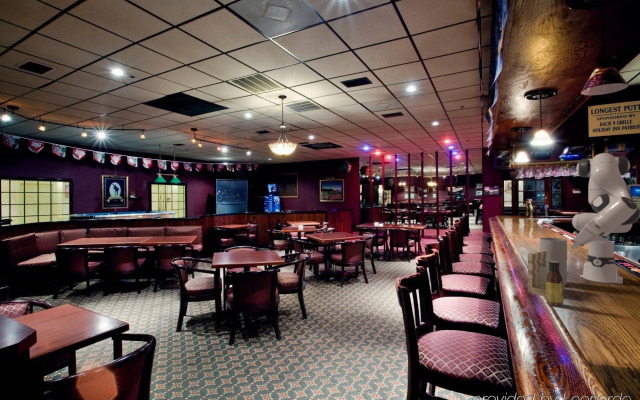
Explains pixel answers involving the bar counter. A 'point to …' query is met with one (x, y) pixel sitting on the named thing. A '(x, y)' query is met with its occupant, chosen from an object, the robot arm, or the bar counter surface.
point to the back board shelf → (536, 272)
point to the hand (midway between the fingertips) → (576, 246)
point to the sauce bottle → (554, 285)
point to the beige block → (542, 274)
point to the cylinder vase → (556, 253)
